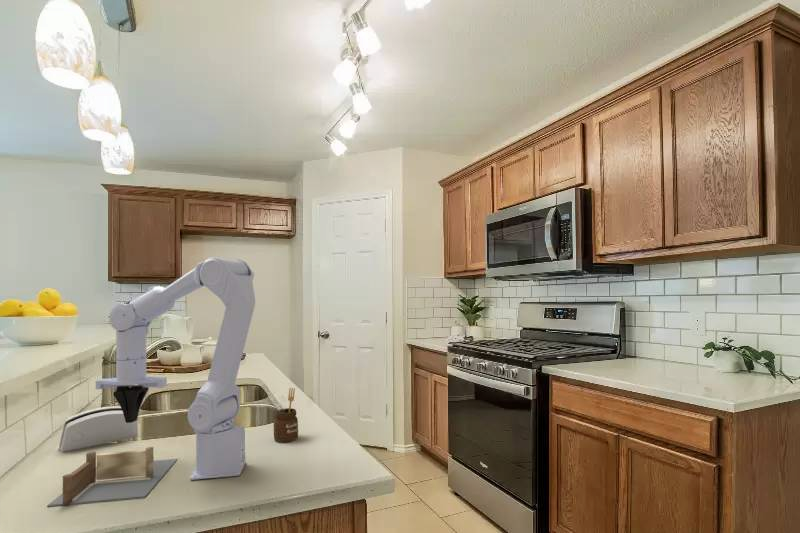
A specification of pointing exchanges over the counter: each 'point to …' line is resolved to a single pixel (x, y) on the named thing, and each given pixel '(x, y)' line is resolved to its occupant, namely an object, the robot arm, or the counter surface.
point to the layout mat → (119, 487)
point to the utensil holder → (286, 422)
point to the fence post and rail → (79, 479)
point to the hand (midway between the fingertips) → (131, 421)
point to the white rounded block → (96, 428)
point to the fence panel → (125, 464)
